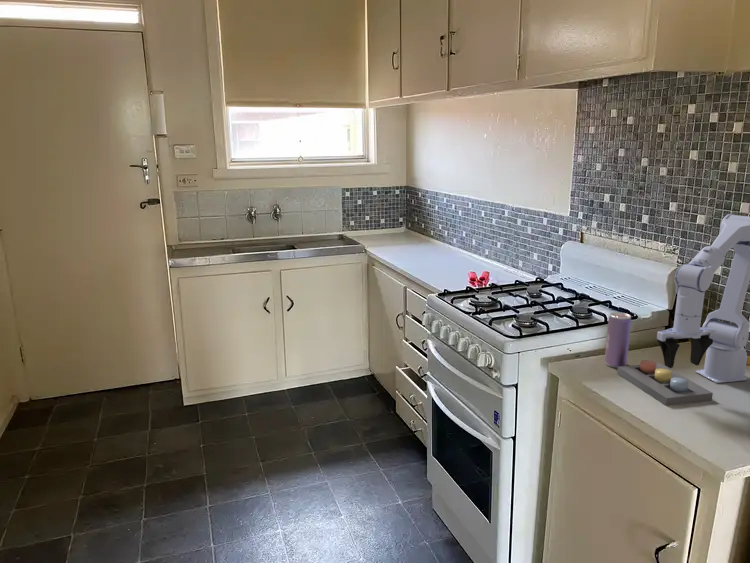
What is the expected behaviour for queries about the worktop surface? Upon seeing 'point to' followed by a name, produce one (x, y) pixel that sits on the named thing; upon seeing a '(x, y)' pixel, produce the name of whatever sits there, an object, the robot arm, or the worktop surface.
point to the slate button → (679, 384)
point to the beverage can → (617, 339)
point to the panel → (664, 386)
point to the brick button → (648, 366)
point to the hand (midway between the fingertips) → (681, 365)
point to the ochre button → (663, 375)
